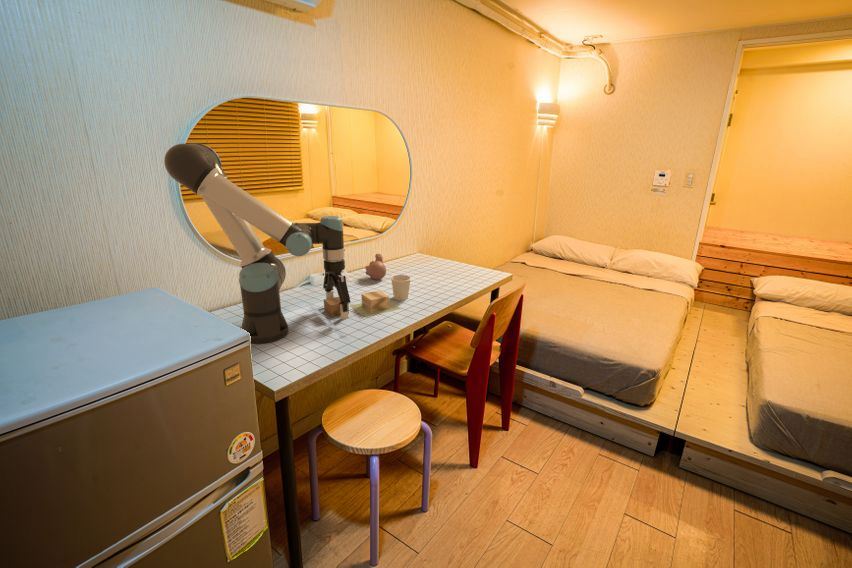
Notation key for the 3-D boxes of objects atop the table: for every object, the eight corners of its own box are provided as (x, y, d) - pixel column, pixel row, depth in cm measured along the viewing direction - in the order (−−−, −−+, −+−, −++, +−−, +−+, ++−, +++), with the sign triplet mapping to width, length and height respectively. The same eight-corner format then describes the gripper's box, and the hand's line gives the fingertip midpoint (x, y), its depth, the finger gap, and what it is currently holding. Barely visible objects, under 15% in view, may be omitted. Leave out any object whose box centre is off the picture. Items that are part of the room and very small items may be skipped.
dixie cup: (392, 304, 169) (392, 281, 165) (389, 297, 176) (389, 275, 173) (412, 303, 170) (412, 280, 167) (409, 296, 178) (409, 274, 175)
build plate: (364, 319, 153) (364, 316, 153) (349, 308, 163) (349, 305, 163) (401, 311, 162) (401, 308, 162) (385, 301, 172) (385, 298, 172)
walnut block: (331, 320, 152) (330, 305, 151) (324, 314, 158) (323, 299, 156) (349, 316, 156) (348, 301, 154) (341, 310, 162) (341, 296, 160)
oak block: (371, 312, 157) (370, 300, 155) (361, 305, 163) (361, 293, 162) (389, 308, 161) (389, 296, 160) (379, 302, 168) (379, 290, 166)
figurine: (371, 274, 206) (371, 251, 202) (389, 278, 201) (389, 254, 197) (360, 279, 199) (359, 255, 195) (379, 283, 193) (378, 258, 190)
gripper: (358, 265, 142) (360, 322, 149) (330, 250, 162) (334, 301, 169) (337, 269, 138) (341, 327, 145) (312, 253, 158) (316, 304, 165)
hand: (337, 313), depth 157 cm, fingers open, 13 cm apart
